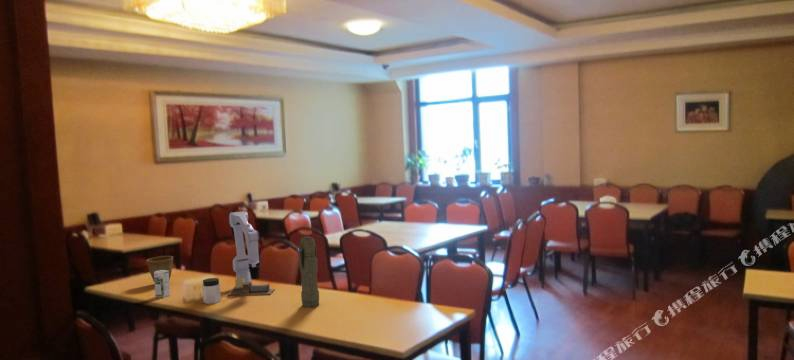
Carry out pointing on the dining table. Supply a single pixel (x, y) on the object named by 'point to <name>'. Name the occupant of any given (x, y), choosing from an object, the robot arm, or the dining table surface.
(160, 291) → the syrup box
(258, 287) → the shaft
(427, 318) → the dining table surface
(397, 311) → the dining table surface
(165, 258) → the plant pot
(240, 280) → the spacer
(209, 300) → the jar
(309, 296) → the thermos
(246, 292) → the bearing block
